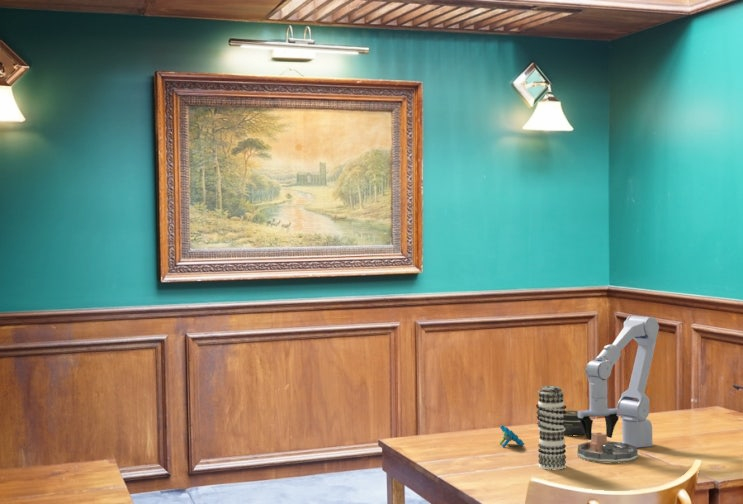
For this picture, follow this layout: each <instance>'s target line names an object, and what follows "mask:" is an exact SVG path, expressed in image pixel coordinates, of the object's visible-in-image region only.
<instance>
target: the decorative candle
mask: <svg viewBox="0 0 743 504" xmlns="http://www.w3.org/2000/svg"><path fill="white" fill-rule="evenodd" d="M537 393H538V401H537V403H538V404H536V405H535V407H536V409H537V411H536V415H537V416H536V418H537V420H538V422H537V423H536V425H537V430H538V431H539V437H538V443H539V444H537V447H538V449H537V450H538V453H539V454H538V455H537V458H538V468H539V469H541V468H542V469H541V470H545V469H548V470H547V471H554V470H553V469H562V470H564V469H563V468H565V467H566V468H567V465H566V464H567V461H566V458H567V455H566V449H565V448H566V447H567V445H566V444H565V442H566V441H565V440H566V439H565V435H564V431H565V428H564V427H563V425H566V423H565V422H564V420H566V417H563V414H565V413H566V411H567V410H566V409H567V406H566V405H565V401H564V393H565V391H563V390H562V388H561V387H560V386H559V385H558V386H556V385H545V386H543V385H542V386H541V388H540V389H539V390H537ZM566 468H565V469H566ZM549 469H550V470H549ZM551 469H552V470H551Z"/></svg>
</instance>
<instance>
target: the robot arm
mask: <svg viewBox="0 0 743 504" xmlns="http://www.w3.org/2000/svg"><path fill="white" fill-rule="evenodd" d="M659 329H660V325H659V323H658V321H657V319H656V318H655V317H654V316H639V315H628V316H627V317H626V319H625V320H624V321H623V327H622V329H621V331H620V332H619V333H618V335H617V336H616V338H615V339H614V340H613V342H612V343H611V344H607V345H604V347H603V349H602V350H601V351H600V352H599V354H598V355H597V356H596V357H595V359H594V360H593V359H592V360H590V361H589V362H588V363H587V364H586V366H585V368H584V372H585V375H586V376H587V381H588V383H589V385H588V386H589V409H585V410H577V411H578V417H579V420H580V422H581V424H582V426H583V428H584V431H585V434H584V435H585V438H586V439H587V440H588V441H589V440H591V437H592V433H593V432H592V427H593V422H594V420H593V419H591V418H594V417H595V418H596V417H604V420H605V426H606V427H605V431H606V432H605V434H607V438H610V439H611V438H612V437H613V434H614V430H615V427H616V425H617V423H618V421H619V418H620V419H621V420H622V421H621V425H622V427H621V428H622V429H621V430H622V431H621V432H622V433H621V434H622V437H621V438H622V441H619V442H620V443H627V444H630V445H633V446H635V447H637V449H638V448H647V447H655V446H654V445H655V444H653V426H652V422H651V420H650V419H648V417H649V414H650V401H651V400H650V398H649V396H648V395H647V394H646V392H645V391H646V387H647V384H648V380H649V374H650V370H651V366H652V362H653V357H654V352H655V349H656V344H657V338H658V333H659ZM632 339H633V340H634V341H635V342H636V344H637V350H636V355H635V358H634V363H633V368H632V372H631V377H630V380H629V381H630V382H629V386H628V389H626V390H625V391H624V392H622V393H621V394H620V395H621V396H620V398H619V400H618V402H617V404H616V408H615V407H614V408H613V407H612V408H608V407H609V406H608V379H609V377H611V374H612V370H613V366H614V365H615V364H616V363H617V361H618V360H619V359H620V357H621V355H622V352H621V351H622V350H623V349H624V348H625V347H626V345H628V344H629V342H631V341H632Z"/></svg>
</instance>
